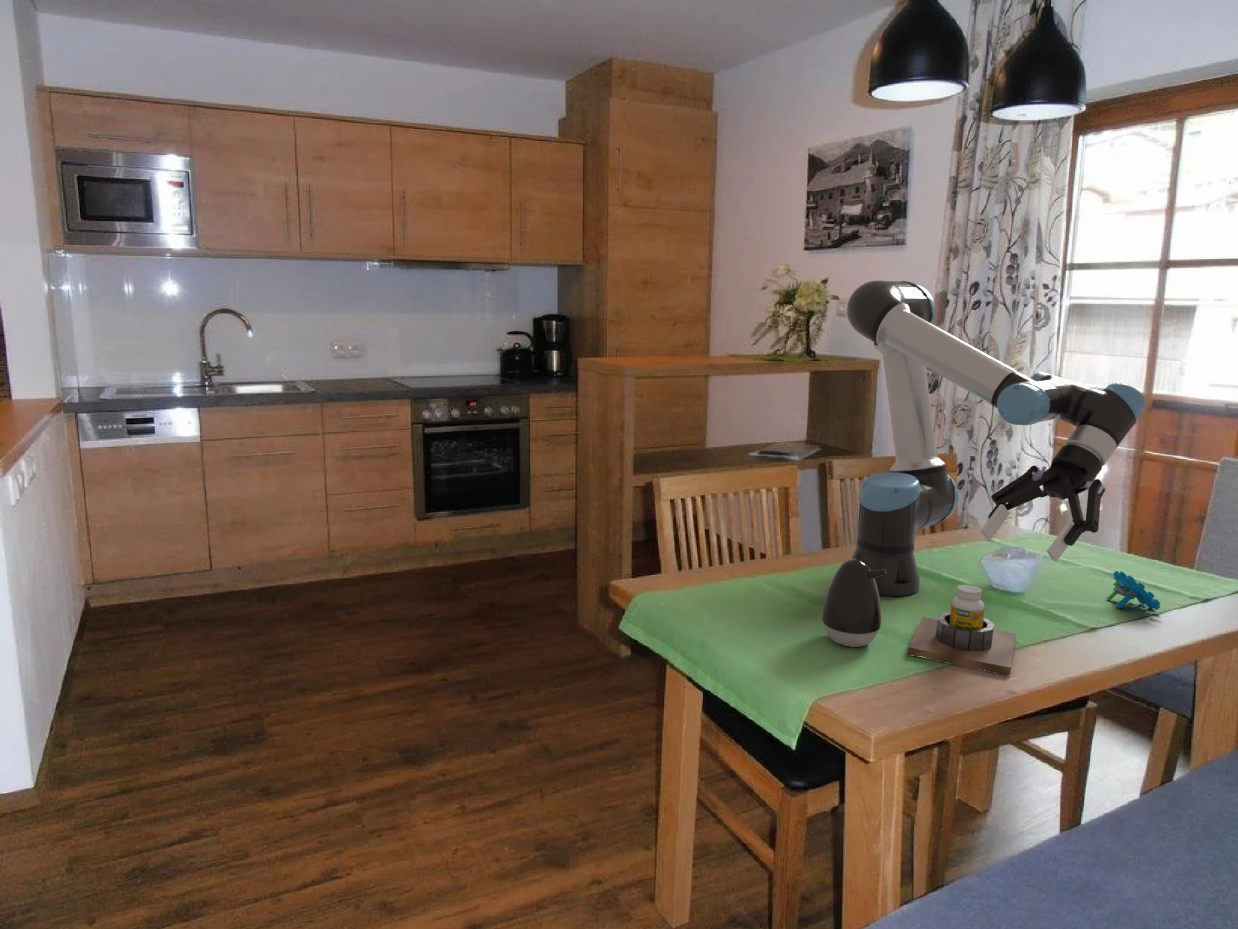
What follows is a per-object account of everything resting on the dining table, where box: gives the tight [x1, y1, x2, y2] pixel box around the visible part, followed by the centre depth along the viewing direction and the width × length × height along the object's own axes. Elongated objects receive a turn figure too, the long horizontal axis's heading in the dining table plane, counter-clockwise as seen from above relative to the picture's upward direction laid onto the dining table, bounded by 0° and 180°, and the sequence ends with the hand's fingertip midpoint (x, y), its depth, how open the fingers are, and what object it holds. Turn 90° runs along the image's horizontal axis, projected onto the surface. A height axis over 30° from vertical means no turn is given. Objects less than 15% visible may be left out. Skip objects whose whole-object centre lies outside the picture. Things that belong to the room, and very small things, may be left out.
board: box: [907, 616, 1017, 676], centre depth 147 cm, size 16×16×2 cm
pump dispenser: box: [821, 558, 886, 648], centre depth 148 cm, size 10×10×15 cm
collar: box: [936, 611, 995, 651], centre depth 146 cm, size 9×9×4 cm
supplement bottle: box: [950, 584, 986, 629], centre depth 146 cm, size 5×5×10 cm
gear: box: [1106, 570, 1161, 611], centre depth 168 cm, size 11×6×10 cm
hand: (1017, 545), depth 148 cm, fingers open, 13 cm apart
